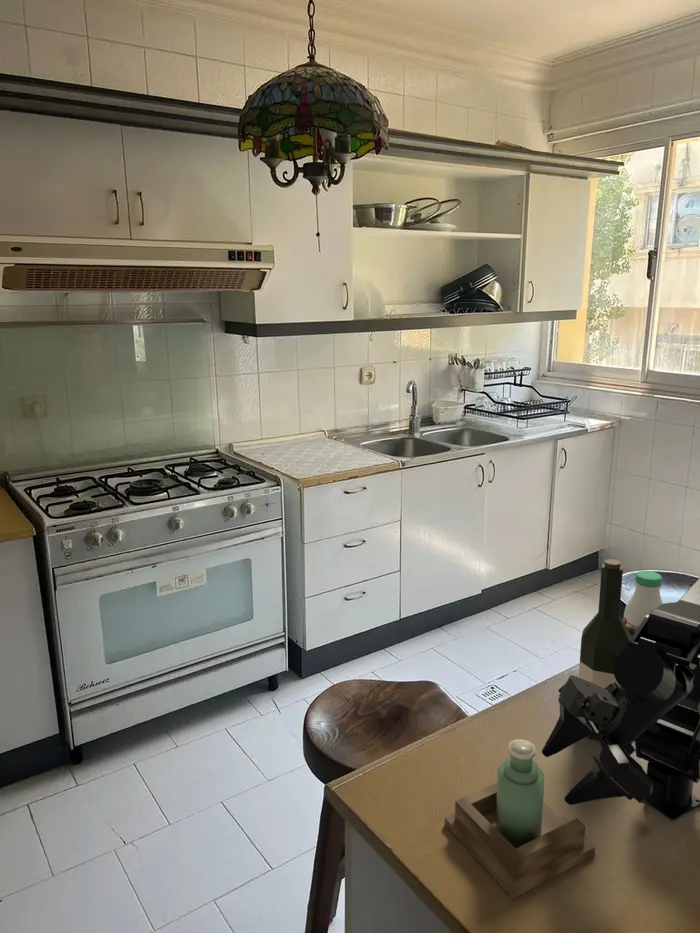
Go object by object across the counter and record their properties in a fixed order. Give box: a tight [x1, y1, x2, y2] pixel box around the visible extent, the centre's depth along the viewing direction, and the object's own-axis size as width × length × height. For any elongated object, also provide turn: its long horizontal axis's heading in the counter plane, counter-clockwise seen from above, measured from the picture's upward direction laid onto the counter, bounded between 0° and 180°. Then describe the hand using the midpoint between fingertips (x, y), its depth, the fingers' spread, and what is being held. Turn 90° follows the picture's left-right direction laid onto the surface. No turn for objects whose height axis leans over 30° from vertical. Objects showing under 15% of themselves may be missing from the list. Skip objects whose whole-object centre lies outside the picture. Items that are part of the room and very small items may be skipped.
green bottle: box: [496, 738, 545, 848], centre depth 91 cm, size 6×6×13 cm
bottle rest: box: [444, 782, 596, 900], centre depth 92 cm, size 14×14×4 cm
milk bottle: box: [623, 570, 663, 630], centre depth 131 cm, size 8×8×20 cm
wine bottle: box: [578, 558, 632, 742], centre depth 113 cm, size 8×8×30 cm
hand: (554, 777), depth 91 cm, fingers open, 9 cm apart
